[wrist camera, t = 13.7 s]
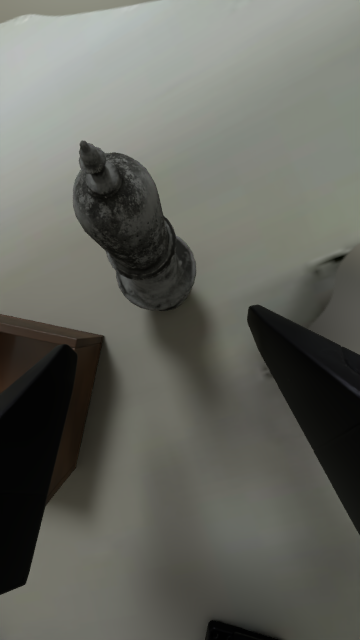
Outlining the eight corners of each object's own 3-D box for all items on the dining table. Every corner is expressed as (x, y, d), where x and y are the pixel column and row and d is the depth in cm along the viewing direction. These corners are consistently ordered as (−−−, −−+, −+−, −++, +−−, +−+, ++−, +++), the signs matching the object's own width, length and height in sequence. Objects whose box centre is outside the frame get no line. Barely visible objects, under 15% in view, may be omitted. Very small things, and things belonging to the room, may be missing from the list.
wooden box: (75, 468, 15) (39, 514, 12) (-47, 436, 16) (-119, 470, 12) (103, 335, 16) (77, 338, 12) (-17, 310, 16) (-78, 305, 13)
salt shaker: (122, 301, 16) (-80, 223, 4) (144, 243, 16) (14, -7, 4) (181, 323, 15) (158, 311, 4) (203, 263, 16) (254, 56, 4)
